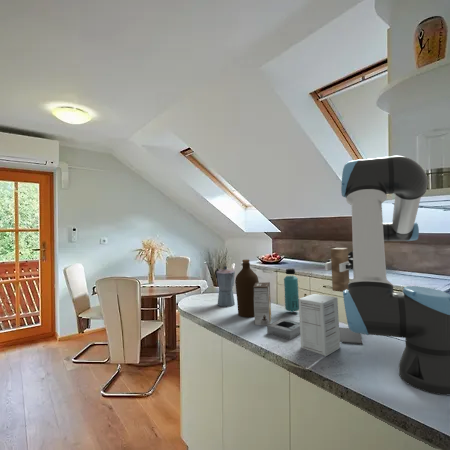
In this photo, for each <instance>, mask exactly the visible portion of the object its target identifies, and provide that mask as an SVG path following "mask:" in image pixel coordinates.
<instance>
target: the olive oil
mask: <svg viewBox="0 0 450 450" xmlns="http://www.w3.org/2000/svg"><path fill="white" fill-rule="evenodd" d="M241 265H242V268H241V270H240V271H239V272H238V273H237V274H236V277H235V279H234V284H235V293H236V294H235V295H236V303H237V314H238V316H239V317H241V318H253V317H254V318H255V316H254V295H253V287H254V285H255V283H260V281H259V278H258V275H257V274H256V272H255V271H253V270H252V268H251V267H250V266H251V263H250V259H242V263H241Z"/></svg>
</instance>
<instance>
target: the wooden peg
mask: <svg viewBox="0 0 450 450" xmlns="http://www.w3.org/2000/svg"><path fill="white" fill-rule="evenodd" d="M348 254H349V248H348V247H335V248H330V259H331V265H332V270H331V285H332V287H331V288H332V291H334V292H341V293H343V291H344V290H346V289H347V290H348V283H349V282H350V269H349V270H346V271H343V272H340V269H339V264H341V263H344V262H347V261H348ZM348 262H349V261H348Z"/></svg>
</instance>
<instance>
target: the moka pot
mask: <svg viewBox="0 0 450 450" xmlns="http://www.w3.org/2000/svg"><path fill="white" fill-rule="evenodd" d="M223 268H224V269H220V268H218V267H217V268H216V270H215V272H214V274H215V280H216V284H217V285H216V286H218V296H217V306H219V307H222V306H230V307H233V306H235V304H236V303H235V297H234V286H235V285H234V284H235V275H236V272H235V270H233V269H227V268H228V267H227V266H226V265H225V266H223ZM232 305H233V306H232Z"/></svg>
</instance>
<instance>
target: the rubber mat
mask: <svg viewBox="0 0 450 450" xmlns="http://www.w3.org/2000/svg"><path fill="white" fill-rule="evenodd" d="M339 335H340V343H341V344H349V345H360V344H361V345H363V339H362V334H360V333H354V332H352V331H351V330H350V329H349V327H341V326H339Z"/></svg>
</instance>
